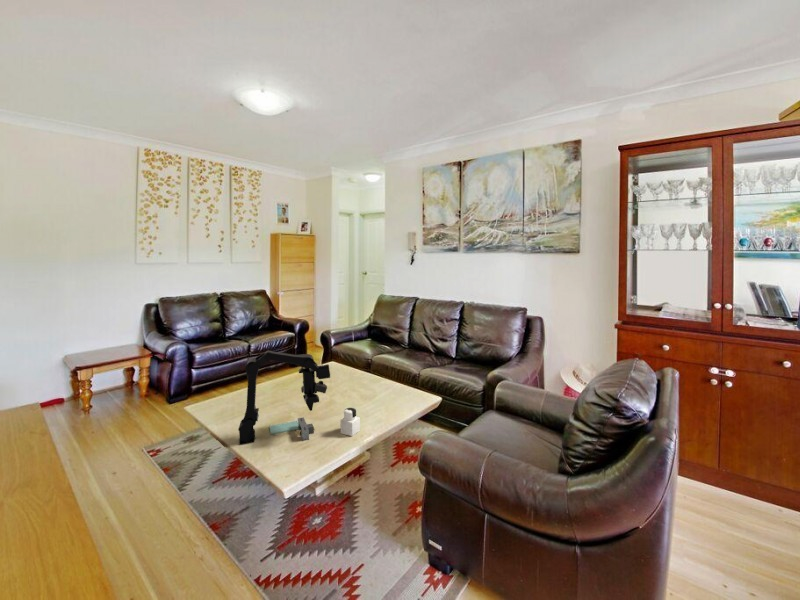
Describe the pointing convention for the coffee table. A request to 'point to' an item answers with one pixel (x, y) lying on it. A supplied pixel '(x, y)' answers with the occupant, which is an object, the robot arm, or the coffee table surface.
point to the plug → (310, 427)
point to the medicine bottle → (350, 422)
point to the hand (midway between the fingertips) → (310, 410)
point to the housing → (303, 429)
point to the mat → (283, 427)
